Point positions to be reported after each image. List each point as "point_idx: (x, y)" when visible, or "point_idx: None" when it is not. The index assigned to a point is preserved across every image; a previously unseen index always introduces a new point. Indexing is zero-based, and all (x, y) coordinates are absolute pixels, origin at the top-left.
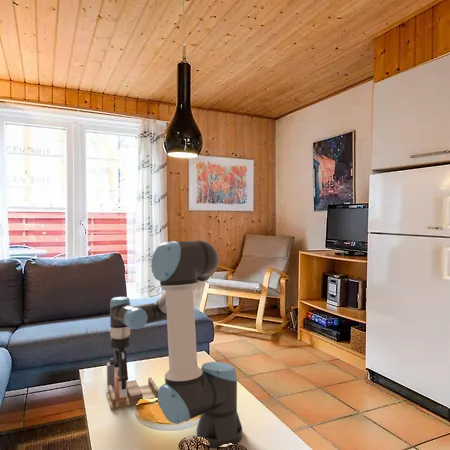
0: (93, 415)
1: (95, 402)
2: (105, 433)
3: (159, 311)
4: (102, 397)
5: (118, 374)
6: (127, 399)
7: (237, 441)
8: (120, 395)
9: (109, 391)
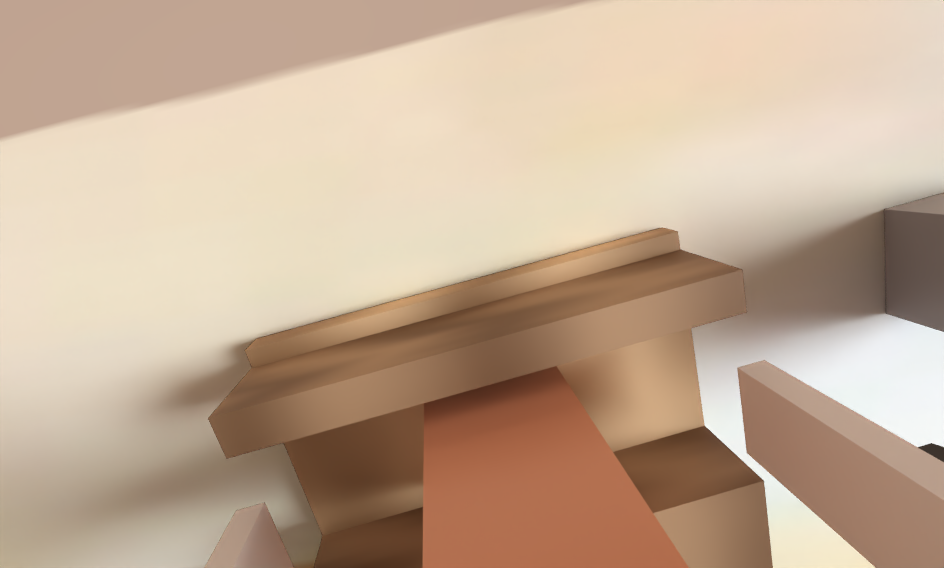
0: (149, 148)
1: (497, 116)
2: None
3: None
4: (613, 185)
5: None
6: None
7: None
8: (225, 544)
9: (574, 303)
